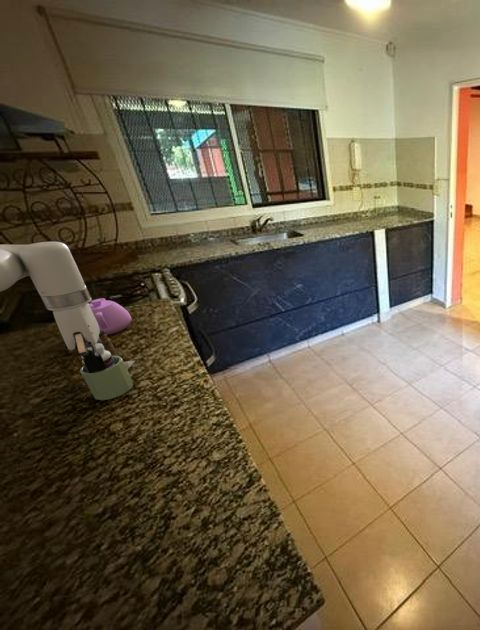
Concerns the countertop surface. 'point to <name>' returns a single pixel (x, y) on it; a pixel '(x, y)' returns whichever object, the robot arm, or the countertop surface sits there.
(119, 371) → the mug
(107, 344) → the condiment
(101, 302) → the teapot
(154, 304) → the countertop surface
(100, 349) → the pill bottle
